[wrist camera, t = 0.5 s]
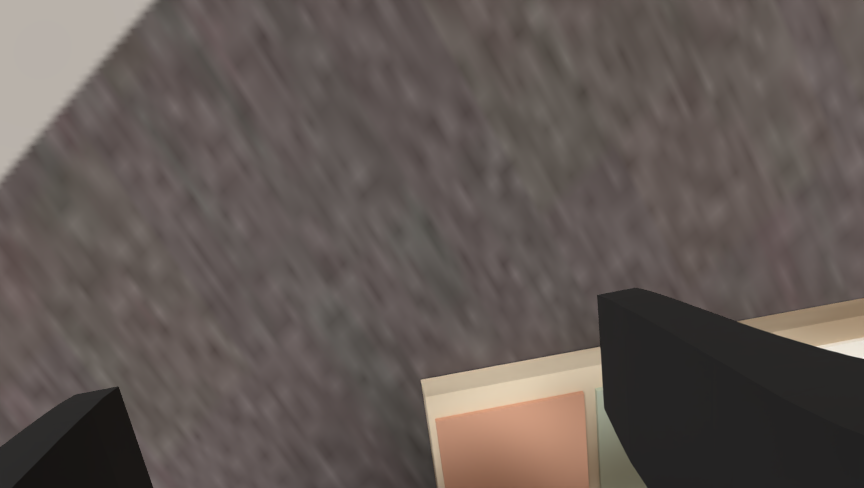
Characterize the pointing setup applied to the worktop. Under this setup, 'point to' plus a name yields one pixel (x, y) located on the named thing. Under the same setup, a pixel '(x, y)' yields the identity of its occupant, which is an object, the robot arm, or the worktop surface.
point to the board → (569, 412)
